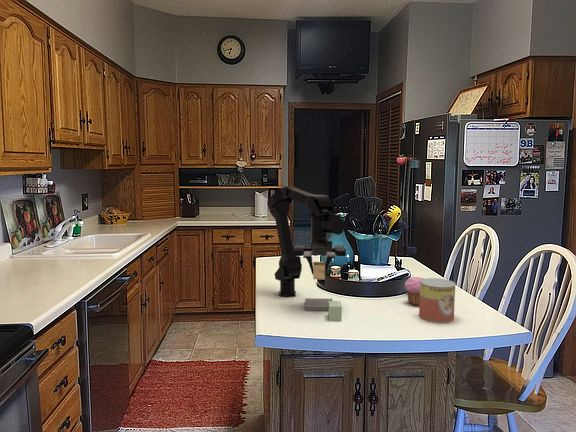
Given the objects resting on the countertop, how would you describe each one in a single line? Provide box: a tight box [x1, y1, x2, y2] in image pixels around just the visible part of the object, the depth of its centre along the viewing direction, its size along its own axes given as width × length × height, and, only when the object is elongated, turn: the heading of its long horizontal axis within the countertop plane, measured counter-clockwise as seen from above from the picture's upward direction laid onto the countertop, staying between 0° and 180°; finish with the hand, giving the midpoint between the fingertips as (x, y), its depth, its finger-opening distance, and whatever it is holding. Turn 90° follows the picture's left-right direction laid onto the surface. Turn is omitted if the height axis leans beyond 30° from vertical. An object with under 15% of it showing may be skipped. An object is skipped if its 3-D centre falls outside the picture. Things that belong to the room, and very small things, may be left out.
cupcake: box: [404, 276, 426, 306], centre depth 170 cm, size 9×9×10 cm
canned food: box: [418, 277, 456, 324], centre depth 155 cm, size 11×11×12 cm
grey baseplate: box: [304, 297, 334, 312], centre depth 167 cm, size 10×10×2 cm
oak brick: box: [312, 261, 326, 280], centre depth 166 cm, size 6×4×5 cm, turn 177°
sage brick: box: [328, 300, 343, 322], centre depth 155 cm, size 6×4×5 cm, turn 178°
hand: (318, 274), depth 166 cm, fingers closed on oak brick, 4 cm apart
